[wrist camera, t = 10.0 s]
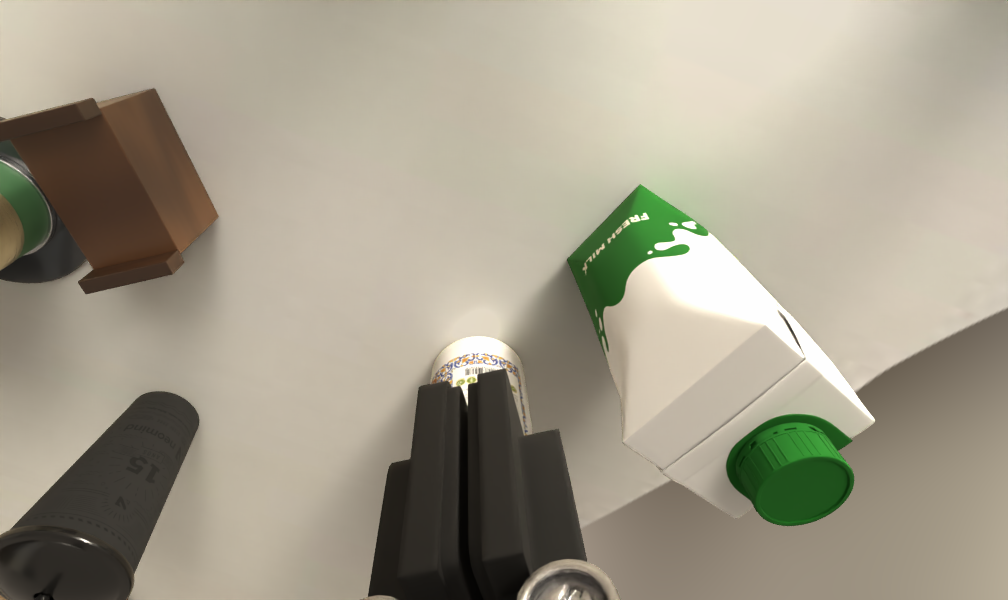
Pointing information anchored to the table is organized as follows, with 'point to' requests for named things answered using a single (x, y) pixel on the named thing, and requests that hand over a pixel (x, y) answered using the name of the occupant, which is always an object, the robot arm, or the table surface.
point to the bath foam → (483, 369)
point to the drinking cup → (100, 509)
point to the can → (22, 213)
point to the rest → (116, 184)
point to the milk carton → (715, 369)
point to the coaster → (51, 258)
